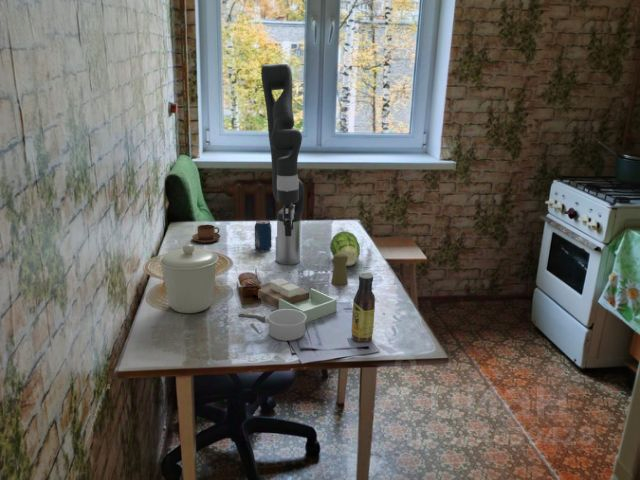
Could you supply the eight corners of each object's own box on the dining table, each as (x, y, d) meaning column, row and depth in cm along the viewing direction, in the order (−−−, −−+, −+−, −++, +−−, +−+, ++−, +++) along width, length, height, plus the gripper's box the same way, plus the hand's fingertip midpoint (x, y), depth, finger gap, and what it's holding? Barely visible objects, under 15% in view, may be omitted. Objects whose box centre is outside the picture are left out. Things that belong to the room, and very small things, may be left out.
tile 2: (280, 293, 189) (280, 286, 188) (290, 290, 192) (290, 283, 191) (288, 297, 185) (288, 290, 185) (299, 294, 188) (299, 287, 188)
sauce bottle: (349, 333, 169) (352, 270, 163) (370, 333, 170) (374, 270, 164) (352, 343, 163) (356, 279, 157) (374, 343, 164) (378, 278, 158)
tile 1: (269, 288, 192) (269, 281, 192) (280, 285, 195) (280, 278, 195) (278, 292, 189) (278, 285, 189) (288, 289, 192) (288, 282, 191)
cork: (346, 286, 204) (347, 257, 200) (329, 284, 205) (330, 255, 201) (348, 280, 209) (350, 252, 206) (332, 278, 210) (333, 250, 207)
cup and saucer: (206, 234, 258) (206, 221, 256) (226, 240, 251) (225, 226, 250) (186, 240, 249) (186, 227, 247) (205, 246, 242) (205, 232, 240)
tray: (278, 310, 183) (278, 298, 182) (311, 299, 192) (311, 288, 191) (303, 323, 174) (303, 311, 173) (336, 311, 184) (336, 299, 182)
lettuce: (333, 273, 216) (334, 244, 213) (328, 255, 236) (329, 228, 232) (363, 273, 217) (365, 244, 214) (356, 255, 237) (357, 229, 233)
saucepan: (242, 322, 174) (242, 306, 172) (308, 326, 173) (308, 309, 171) (234, 340, 163) (234, 322, 161) (304, 344, 162) (304, 326, 160)
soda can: (273, 247, 243) (273, 220, 240) (268, 252, 237) (269, 224, 233) (257, 245, 244) (257, 218, 241) (252, 251, 238) (252, 223, 234)
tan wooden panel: (253, 295, 194) (253, 287, 193) (281, 286, 202) (281, 279, 201) (281, 309, 183) (281, 301, 183) (309, 300, 191) (309, 292, 190)
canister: (157, 299, 188) (154, 238, 182) (212, 292, 195) (210, 233, 189) (166, 322, 172) (163, 256, 166) (225, 314, 179) (224, 250, 173)
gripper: (278, 183, 205) (280, 227, 209) (274, 191, 191) (276, 238, 196) (299, 183, 204) (301, 227, 209) (297, 191, 191) (298, 238, 195)
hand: (289, 232), depth 202 cm, fingers open, 8 cm apart
